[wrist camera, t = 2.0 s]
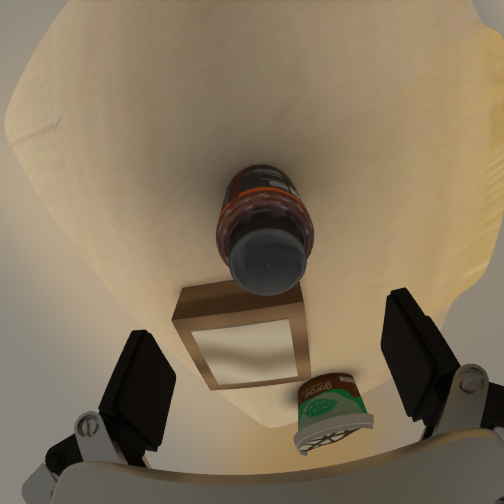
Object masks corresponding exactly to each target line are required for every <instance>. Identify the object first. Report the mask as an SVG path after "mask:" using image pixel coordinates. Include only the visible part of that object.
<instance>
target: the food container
mask: <svg viewBox="0 0 504 504" xmlns="http://www.w3.org/2000/svg"><path fill="white" fill-rule="evenodd" d="M373 424H374V421H373V415H371V414H368V413H367V411H366V408H365V406H364V403H363V401H362V398H361V396H360V393H359V391H358V388H357V386H356V383H355V381H354V379H353V376H351V375H349V374H345V373H329V374H325V375H320V376H318V377H315V378H312V379H311V380H309V381H307V382H306V383H304V384H303V385H302V386H301V387H300V389H299V392H298V432H297V433H296V434H295V436H294V442H295V445H296V448H297V450H298V451H299V453H300V454H301V455H304V456H307V451H309V450H312V449H314V448H316V447H319V446H322V445H326V444H330V443H334V442H337V441H339V440H341V439H343V438H344V437H346V436H347V435H349V434H351V433H353V432H354V431H357V430H359V429H361V428H370V429H373V426H372V425H373Z"/></svg>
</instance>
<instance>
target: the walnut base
mask: <svg viewBox="0 0 504 504" xmlns="http://www.w3.org/2000/svg"><path fill="white" fill-rule="evenodd" d="M172 322H173V324H174V326H175V328H176V330H177V332H178V334H179V336H180V338H181V340H182V342H183V343H184V345H185V347H186V349H187V351H188V353H189V354H190V356H191V358H192V360H193V361H194V363H195V365H196V367H197V368H198V370H199V372H200V374H201V375H202V377H203V379H204V380H205V382H206V384H207V385H208V387H209V389H210V390H225V389H239V388H250V387H260V386H268V385H276V384H284V383H291V382H297V381H304V380H309V379H312V377H311V366H310V355H309V345H308V335H307V326H306V317H305V309H304V301H303V296H302V292H301V287H300V283H299V282H298V283H297V284H296V285H295V286H294V287H292V288H291V289H289V290H288V291H286V292H283V293H280V294H277V295H271V296H263V295H257V294H253V293H251V292H248V291H246V290H244V289H243V288H242V287H241V286H239V285H238V284H237V283H236V281H235V280H232V281H226V282H219V283H213V284H207V285H200V286H194V287H187V288H182V291H181V293H180V296H179V299H178V302H177V305H176V308H175V311H174V314H173V317H172Z"/></svg>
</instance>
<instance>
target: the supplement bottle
mask: <svg viewBox="0 0 504 504" xmlns="http://www.w3.org/2000/svg"><path fill="white" fill-rule="evenodd" d="M216 243H217V248H218V251H219V253H220V256H221V258H222V259H223V261H224V263H225V264H226V265H227V266H228V267H229V269H230V272H231V275H232V277H233V279H234V280H235V281H236V283H237V284H238V285H239V286H241V287H242V288H243V289H244V290H246V291H248V292H251V293H253V294H257V295H263V296H271V295H277V294H280V293H283V292H286V291H288V290H289V289H291V288H292V287H294V286H295V285H296V284H297V283H298V282H299V281H300V279H301V278H302V276H303V275H304V273H305V270H306V264H307V259H308V257H309V256H310V253H311V250H312V247H313V243H314V229H313V224H312V221H311V219H310V216H309V214H308V212H307V210H306V208H305V206H304V204H303V202H302V200H301V198H300V197H299V195H298V193H297V191H296V189H295V187H294V185H293V183H292V182H291V180H290V179H289V178H288V177H287V176H286V175H285V174H284V173H283V172H282V171H280V170H279V169H277V168H275V167H272V166H268V165H254V166H251V167H248V168H246V169H244V170H242V171H241V172H239V173H238V174H237V175H236V176H235V177H234V178H233V179H232V181H231V183H230V185H229V187H228V189H227V192H226V196H225V199H224V203H223V206H222V210H221V213H220V216H219V221H218V225H217V230H216Z"/></svg>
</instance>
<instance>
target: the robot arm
mask: <svg viewBox="0 0 504 504" xmlns="http://www.w3.org/2000/svg"><path fill="white" fill-rule="evenodd" d="M381 350H382V353H383V355H384V357H385V360H386V362H387V365H388V367H389V369H390V372H391V374H392V377H393V379H394V382H395V385H396V387H397V390H398V392H399V395H400V398H401V400H402V403H403V406H404V409H405V411H406V414H407V416H408V417H411V416H412V419H413V422H416V421H418V420H421V419H422V420H423V423H424V425H425V429H424V431H423V433H422V436H421V438H420V440H419V442H416V443H413V444H410V445H407V446H405V447H401V448H398V449H395V450H392V451H389V452H385V453H382V454H378V455H375V456H371V457H367V458H363V459H359V460H356V461H351V462H347V463H342V464H338V465H332V466H327V467H322V468H315V469H309V470H302V471H294V472H284V473H272V474H256V475H209V474H193V473H181V472H172V471H164V470H156V469H152V468H151V466H150V464H149V462H148V461H147V459H146V457H145V455H144V454H145V450H147V451H154V452H157V449H158V446H160V445H161V443H162V439H163V435H164V430H165V426H166V421H167V416H168V412H169V408H170V404H171V399H172V395H173V391H174V387H175V383H176V375H175V372H174V370H173V369H172V367H171V366H170V364H169V362H168V361H167V359H166V358H165V356H164V354H163V353H162V351H161V349H160V348H159V346H158V344H157V343H156V341H155V339H154V337H153V336H152V334H151V333H148V331H147V330H133V331H132V332H131V334H130V336H129V338H128V340H127V342H126V344H125V346H124V349H123V351H122V353H121V355H120V357H119V360H118V362H117V364H116V367H115V369H114V371H113V374H112V376H111V378H110V380H109V383H108V385H107V388H106V390H105V393H104V395H103V397H102V400H101V402H100V405H99V408H98V409H99V410H100V411H99V413H96V412H93V411H89V412H86V413H84V414H82V415H81V416H80V417H79V418H78V419H77V421H76V423H75V427H74V430H75V433H74V434H73V435H71V436H69V437H68V438H66V439H65V440H63V441H61V442H59V443H58V444H56V445H54V446H53V447H51V448H50V449H49V450H48V452H47V454H46V457H45V462H46V464H44V463H42V464H41V465H40V467H39V468H38V469H37V470H36V471H35V472H34V473H33V474H32V475H31V476H30V477H29V478H28V479H27V480H26V481H25V483H24V484H23V486H22V495H23V498H24V500H25V501H26V503H27V504H504V386H501V385H498V384H495V383H491V382H489V378H488V375H487V373H486V371H485V370H484V369H483V368H482V367H480V366H478V365H476V364H465V365H463V366H460V364H459V362H458V361H457V359H456V357H455V356H454V354H453V352H452V351H451V349H450V347H449V346H448V344H447V342H446V341H445V339H444V338H443V336H442V334H441V333H440V331H439V330H438V328H437V327H436V325H435V324H434V322H433V321H432V319H431V318H430V317H429V316H425V314H424V313H423V311H422V310H421V308H420V307H419V305H418V304H417V303H416V301H415V300H414V298H413V297H412V295H411V294H410V292H409V291H408V290H407V289H406V288H405V287H404V288H400V289H396V290H392V291H391V293H390V295H388V296H387V299H386V308H385V316H384V324H383V331H382V338H381Z"/></svg>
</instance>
